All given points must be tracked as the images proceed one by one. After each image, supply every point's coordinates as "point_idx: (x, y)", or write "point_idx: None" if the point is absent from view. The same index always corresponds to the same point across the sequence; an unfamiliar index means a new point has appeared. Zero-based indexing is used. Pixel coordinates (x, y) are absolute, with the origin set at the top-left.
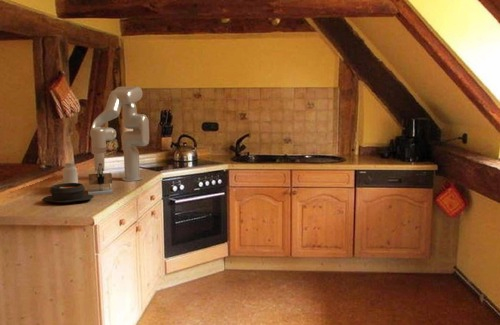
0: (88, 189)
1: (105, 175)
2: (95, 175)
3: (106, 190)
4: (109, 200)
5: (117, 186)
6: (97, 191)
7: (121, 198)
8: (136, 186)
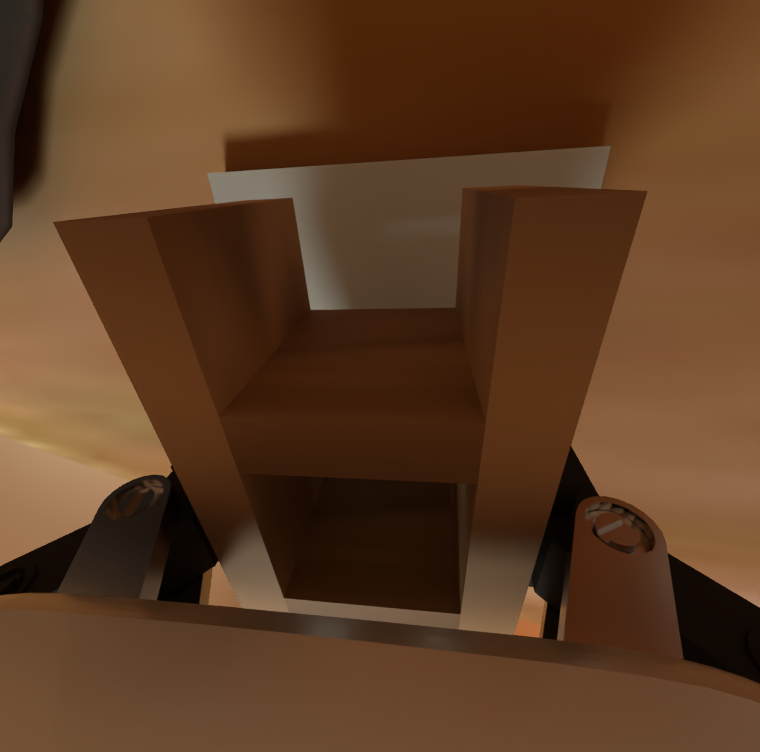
0: (534, 164)
1: (246, 598)
2: (195, 446)
3: None
4: (10, 387)
5: (649, 507)
6: (317, 307)
7: (96, 467)
8: (534, 603)
